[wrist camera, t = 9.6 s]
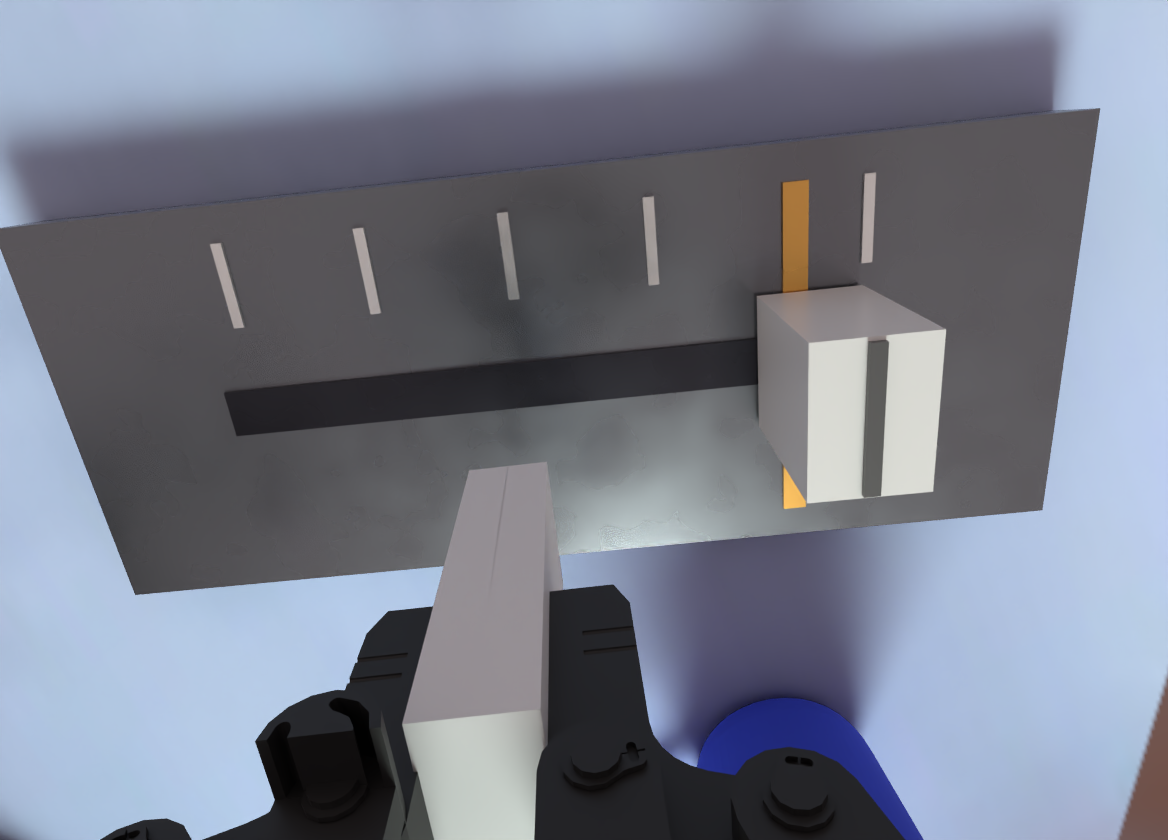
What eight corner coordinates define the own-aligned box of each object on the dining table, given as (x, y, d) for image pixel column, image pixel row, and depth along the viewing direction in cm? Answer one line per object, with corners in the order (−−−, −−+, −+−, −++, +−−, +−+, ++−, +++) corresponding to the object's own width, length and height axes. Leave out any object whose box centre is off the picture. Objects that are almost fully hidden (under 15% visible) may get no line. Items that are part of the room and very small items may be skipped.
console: (166, 562, 26) (133, 596, 24) (42, 221, 22) (-10, 229, 20) (1008, 482, 25) (1044, 511, 23) (1053, 110, 21) (1102, 108, 19)
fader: (758, 425, 22) (808, 506, 17) (756, 296, 21) (811, 345, 16) (857, 416, 22) (936, 494, 17) (863, 284, 21) (949, 330, 16)
